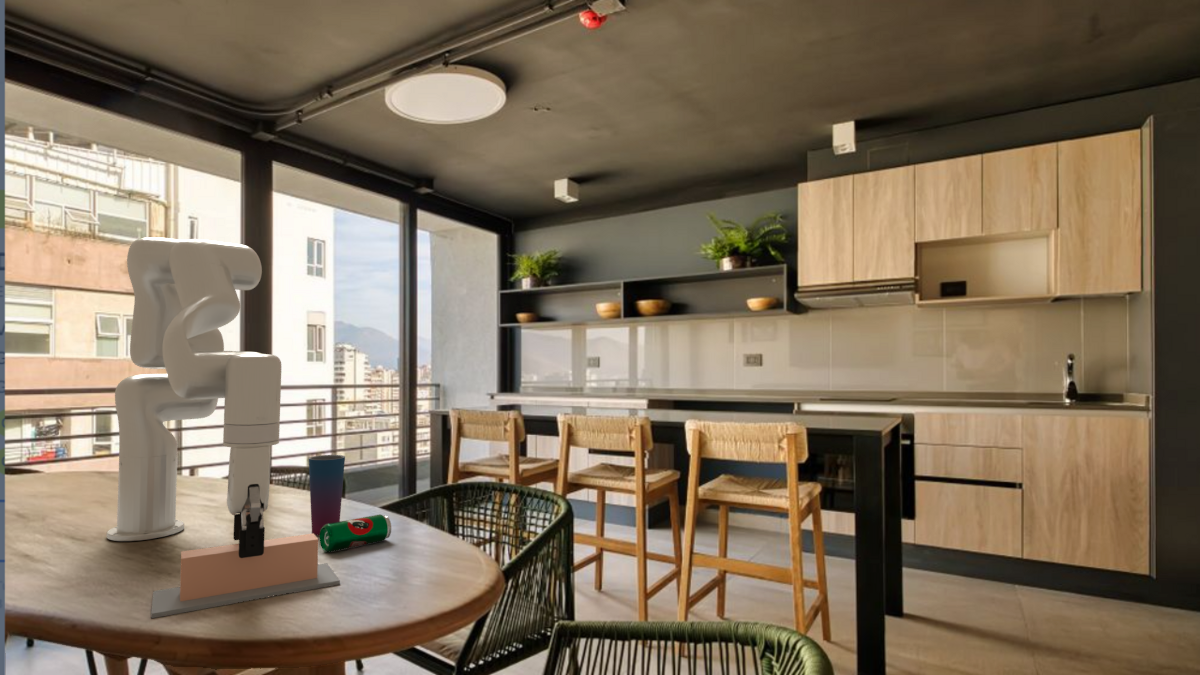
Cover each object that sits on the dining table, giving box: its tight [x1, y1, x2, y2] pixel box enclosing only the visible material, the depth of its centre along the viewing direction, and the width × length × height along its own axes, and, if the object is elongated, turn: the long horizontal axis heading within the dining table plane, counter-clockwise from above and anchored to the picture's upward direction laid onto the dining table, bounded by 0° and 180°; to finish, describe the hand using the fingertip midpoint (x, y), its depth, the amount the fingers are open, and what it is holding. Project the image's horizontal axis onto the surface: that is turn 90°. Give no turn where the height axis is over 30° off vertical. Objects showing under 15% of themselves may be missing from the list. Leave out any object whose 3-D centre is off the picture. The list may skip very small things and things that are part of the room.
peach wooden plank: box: [179, 533, 319, 601], centre depth 97 cm, size 4×18×6 cm, turn 124°
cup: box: [308, 454, 346, 536], centre depth 129 cm, size 7×7×15 cm
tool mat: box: [150, 563, 341, 619], centre depth 97 cm, size 10×24×1 cm, turn 124°
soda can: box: [318, 514, 392, 554], centre depth 119 cm, size 5×5×12 cm
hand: (248, 547), depth 97 cm, fingers open, 9 cm apart
